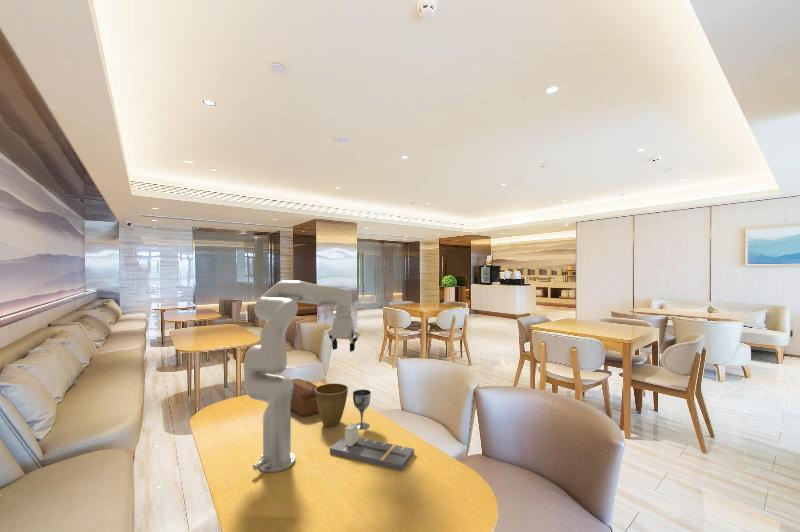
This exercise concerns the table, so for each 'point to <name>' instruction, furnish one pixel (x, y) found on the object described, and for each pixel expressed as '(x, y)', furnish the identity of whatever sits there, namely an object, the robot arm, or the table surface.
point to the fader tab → (351, 434)
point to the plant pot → (331, 403)
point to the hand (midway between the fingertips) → (343, 350)
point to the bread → (304, 397)
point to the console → (374, 452)
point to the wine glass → (362, 405)
